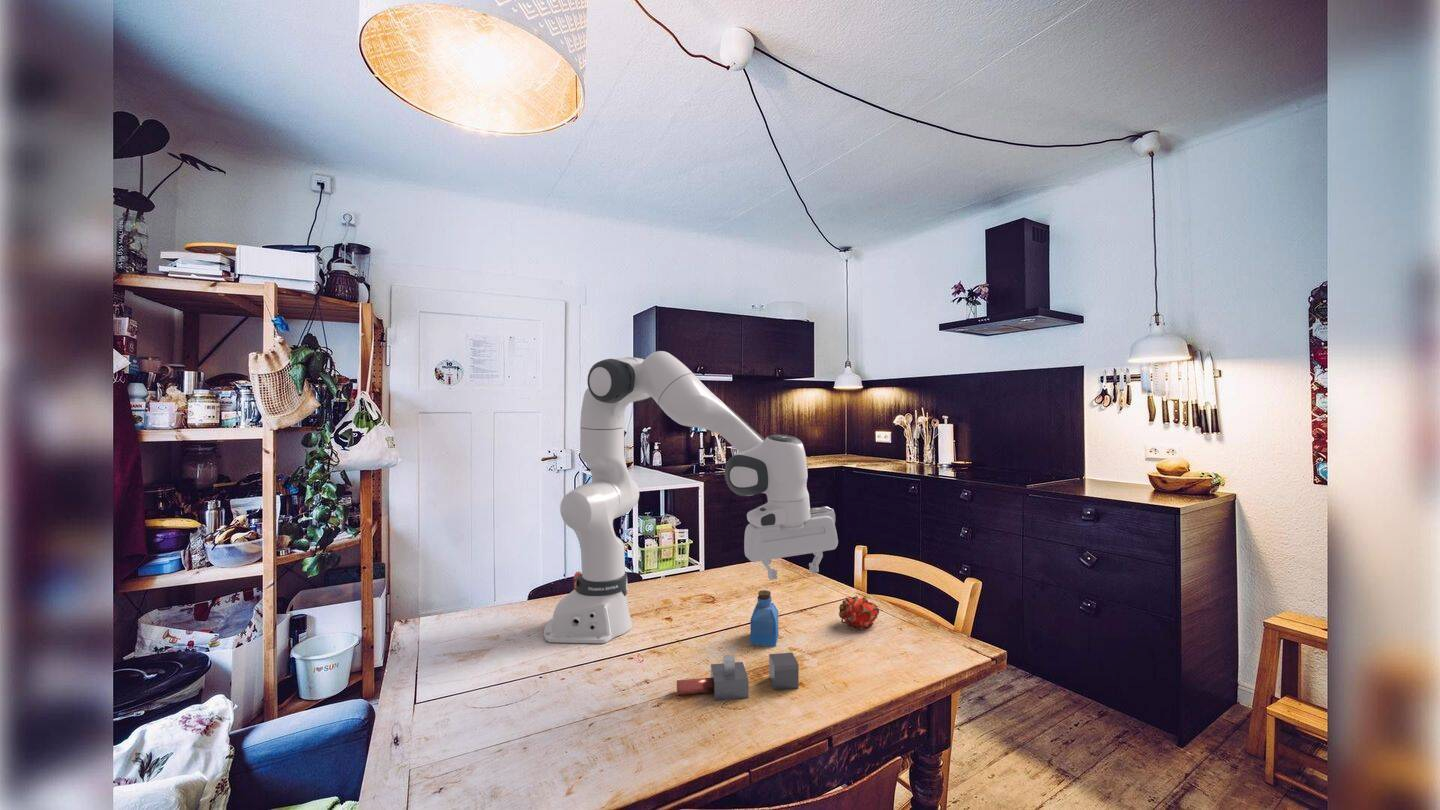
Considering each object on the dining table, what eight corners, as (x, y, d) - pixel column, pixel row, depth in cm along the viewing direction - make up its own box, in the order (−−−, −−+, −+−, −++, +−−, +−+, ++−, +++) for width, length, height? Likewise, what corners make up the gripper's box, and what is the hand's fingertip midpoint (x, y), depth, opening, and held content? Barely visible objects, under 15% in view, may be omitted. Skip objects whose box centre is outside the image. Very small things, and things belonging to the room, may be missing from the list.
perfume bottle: (775, 646, 142) (775, 598, 141) (750, 644, 144) (750, 596, 143) (778, 634, 148) (778, 588, 147) (754, 632, 150) (753, 587, 149)
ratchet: (677, 703, 119) (677, 670, 118) (676, 684, 126) (675, 653, 125) (748, 697, 121) (748, 664, 120) (742, 679, 128) (742, 648, 127)
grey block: (774, 690, 123) (774, 666, 123) (769, 677, 128) (769, 654, 128) (798, 688, 124) (798, 664, 124) (792, 675, 129) (792, 652, 129)
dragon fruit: (834, 633, 152) (874, 633, 155) (849, 626, 145) (891, 626, 149) (828, 600, 157) (868, 601, 160) (843, 591, 150) (884, 592, 153)
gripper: (827, 502, 130) (832, 563, 130) (739, 514, 125) (744, 578, 125) (840, 507, 124) (844, 572, 124) (748, 520, 119) (753, 587, 119)
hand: (793, 575), depth 125 cm, fingers open, 8 cm apart
